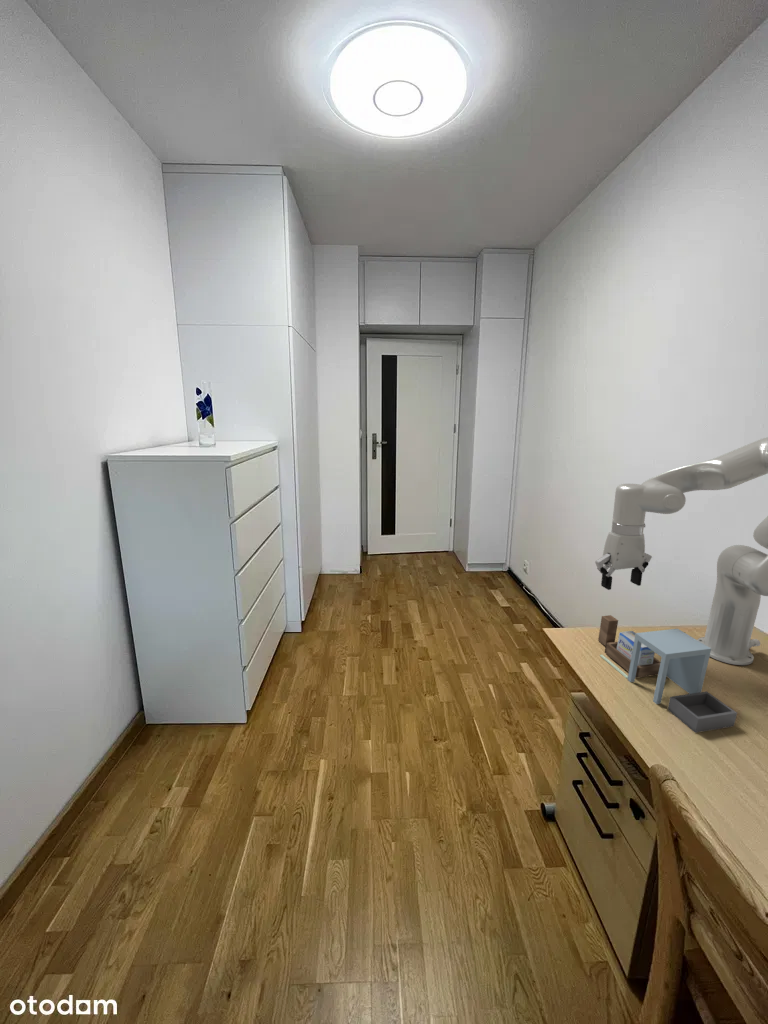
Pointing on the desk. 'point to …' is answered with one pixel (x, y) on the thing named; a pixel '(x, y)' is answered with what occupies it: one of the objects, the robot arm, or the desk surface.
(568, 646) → the desk surface
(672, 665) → the tunnel
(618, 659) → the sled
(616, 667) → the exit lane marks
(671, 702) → the tray
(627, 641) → the medicine box
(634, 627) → the desk surface
